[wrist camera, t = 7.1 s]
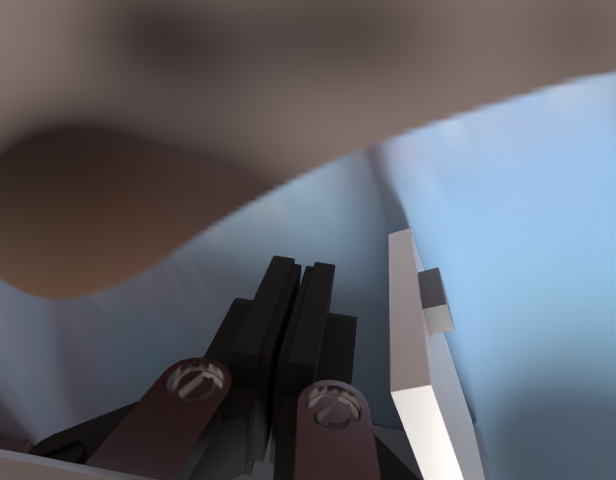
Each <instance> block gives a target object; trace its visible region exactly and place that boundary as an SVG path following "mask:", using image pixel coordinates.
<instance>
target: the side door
mask: <svg viewBox="0 0 616 480" xmlns="http://www.w3.org/2000/svg"><path fill="white" fill-rule="evenodd" d="M389 312H390V392H391V395H392V398H393V400H394V403H395V405H396V408H397V411H398V413H399V416H400V418H401V421H402V424H403V426H404V429H405V431H406V434H407V437H408V439H409V442H410V444H411V447H412V450H413V452H414V455H415V457H416V460H417V463H418V465H419V468H420V470H421V473H422V476H423V478H424V480H492V477H491V473H490V468H489V464H488V460H487V456H486V452H485V447H484V443H483V439H482V435H481V431H480V430H479V428H477V427H476V426H474V425H473V423H472V419H471V416H470V413H469V410H468V407H467V404H466V400H465V397H464V394H463V391H462V388H461V385H460V382H459V378H458V375H457V372H456V369H455V366H454V363H453V359H452V356H451V353H450V350H449V347H448V344H447V341H446V337H445V334H444V332H448V331H453V330H455V329H454V325H453V321H452V317H451V312H450V308H449V304H448V299H447V295H446V291H445V288H444V284H443V281H442V278H441V274H440V271H439V268H434V269H430V270H426V271H424V268H423V265H422V262H421V258H420V255H419V252H418V249H417V246H416V243H415V240H414V236H413V233H412V230H411V228H408V229H405V230H401V231H398V232H394V233H391V234H389Z"/></svg>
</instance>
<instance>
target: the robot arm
mask: <svg viewBox="0 0 616 480" xmlns="http://www.w3.org/2000/svg"><path fill="white" fill-rule="evenodd" d="M334 272H335V265H333V264H326V263H320V262H315V264H314V267H311V266H306V269H305V272H304V275H303V278H302V282H301V285H300V278H301V265H298V264H295V259H294V258H287V257H281V256H274V257H273V259H272V261H271V263H270V265H269V267H268V269H267V271H266V274H265V276H264V278H263V280H262V282H261V284H260V287H259V289H258V291H257V293H256V295H255V297H254V300H248V299H242V298H236V299H235V300H234V301H233V303H232V305H231V307H230V309H229V311H228V313H227V315H226V316H225V318H224V320H223V322H222V324H221V326H220V328H219V330H218V331H217V333H216V335H215V337H214V339H213V341H212V343H211V345H210V347H209V348H208V350H207V352H206V354H205V356H204V357H199V358H189V359H185V360H181V361H179V362H177V363H175V364H173V365H172V366H171V367H169V368H168V369H167V370H166V371H165V372H164V373H163V374H162V375H161V376H160V378H159V379H158V380H157V381H156V382H155V383H154V384H153V386H152V387H151V388H150V389H149V390H148V391H147V393H146V394H145V395H144V396H143V397H142V398H141V400H140V401H137V402H135V403H132V404H130V405H127V406H125V407H122V408H120V409H117V410H115V411H112V412H110V413H107V414H104V415H102V416H99V417H97V418H94V419H92V420H89V421H87V422H84V423H82V424H79V425H77V426H74V427H71V428H69V429H66V430H64V431H61V432H59V433H56V434H54V435H52V436H50V437H48V438H46V439H44V440H42V441H40V442H39V443H38V444H37V445H35V446H31V445H30V441H29V440H0V480H234V479H236V478H237V477H239V476H241V475H243V474H244V475H249V476H251V473H252V470H253V466H254V463H255V461H260V462H263V461H264V458H265V455H266V451H267V447H268V444H269V440H270V436H271V446H270V459H269V463H270V464H274V473H273V480H420V479H419V478H418V477H417V476H416V475H415V474H414V473H413V472H412V471H411V470H410V469H409V468H408V467H407V466H406V465H405V464H404V463H403V462H402V461H401V460H400V459H399V458H398V457H397V456H396V455H395V454H394V453H393V452H392V451H391V450H390V449H389V448H388V447H387V446H386V445H385V444H384V443H383V442H382V441H381V440H380V439H379V438H378V437H377V436H376V435H375V434H374V432H373V425H372V419H371V413H370V408H369V405H368V402H367V400H366V398H365V397H364V396H363V395H362V393H361V392H360V391H358V390H357V389H356V388H354V387H353V386H351V382H352V370H353V359H354V347H355V335H356V324H357V317H352V316H346V315H340V314H334V313H329V309H330V301H331V294H332V287H333V279H334ZM271 432H272V433H271Z"/></svg>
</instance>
